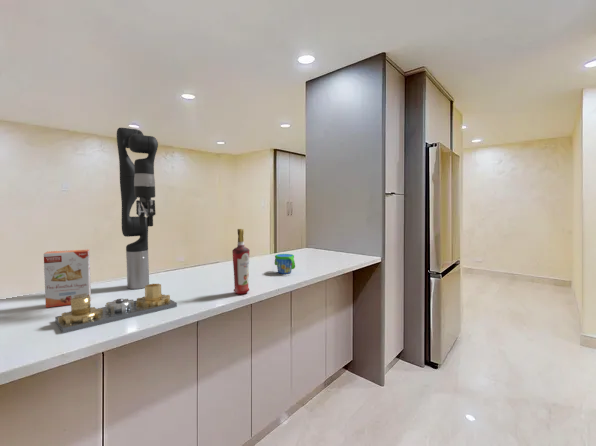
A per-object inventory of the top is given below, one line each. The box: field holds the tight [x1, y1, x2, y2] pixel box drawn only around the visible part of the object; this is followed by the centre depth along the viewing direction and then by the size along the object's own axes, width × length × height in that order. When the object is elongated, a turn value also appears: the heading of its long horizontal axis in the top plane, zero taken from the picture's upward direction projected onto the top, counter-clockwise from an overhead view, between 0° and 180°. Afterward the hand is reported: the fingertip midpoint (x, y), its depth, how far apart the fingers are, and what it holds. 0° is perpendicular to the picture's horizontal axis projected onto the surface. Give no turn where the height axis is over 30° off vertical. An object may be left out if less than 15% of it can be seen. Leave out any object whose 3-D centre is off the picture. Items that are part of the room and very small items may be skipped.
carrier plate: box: [54, 296, 178, 334], centre depth 112 cm, size 14×35×8 cm, turn 135°
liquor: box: [232, 228, 250, 295], centre depth 137 cm, size 7×7×28 cm
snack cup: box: [274, 253, 296, 275], centre depth 178 cm, size 16×10×10 cm
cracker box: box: [43, 249, 92, 309], centre depth 123 cm, size 14×6×21 cm, turn 117°
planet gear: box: [135, 283, 171, 307], centre depth 120 cm, size 12×12×6 cm
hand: (146, 225), depth 128 cm, fingers open, 8 cm apart
